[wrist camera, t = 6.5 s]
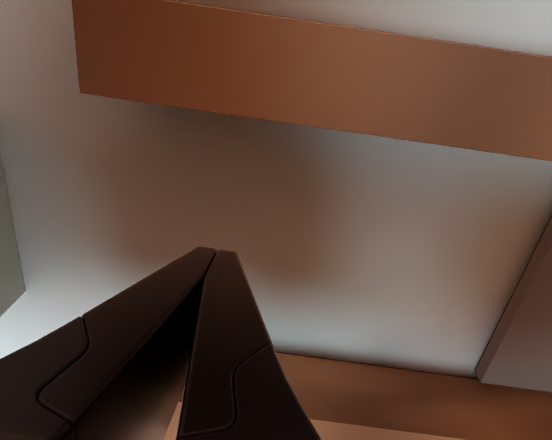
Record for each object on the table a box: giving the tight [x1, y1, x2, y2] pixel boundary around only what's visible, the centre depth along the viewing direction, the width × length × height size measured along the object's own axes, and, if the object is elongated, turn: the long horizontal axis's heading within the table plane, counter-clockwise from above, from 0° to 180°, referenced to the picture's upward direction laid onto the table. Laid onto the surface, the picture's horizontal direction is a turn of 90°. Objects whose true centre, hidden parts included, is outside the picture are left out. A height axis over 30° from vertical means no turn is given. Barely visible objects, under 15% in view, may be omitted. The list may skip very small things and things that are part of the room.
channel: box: [72, 0, 552, 440], centre depth 9 cm, size 16×10×2 cm, turn 83°
